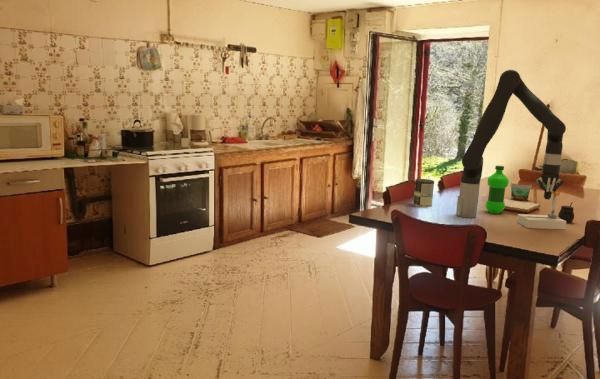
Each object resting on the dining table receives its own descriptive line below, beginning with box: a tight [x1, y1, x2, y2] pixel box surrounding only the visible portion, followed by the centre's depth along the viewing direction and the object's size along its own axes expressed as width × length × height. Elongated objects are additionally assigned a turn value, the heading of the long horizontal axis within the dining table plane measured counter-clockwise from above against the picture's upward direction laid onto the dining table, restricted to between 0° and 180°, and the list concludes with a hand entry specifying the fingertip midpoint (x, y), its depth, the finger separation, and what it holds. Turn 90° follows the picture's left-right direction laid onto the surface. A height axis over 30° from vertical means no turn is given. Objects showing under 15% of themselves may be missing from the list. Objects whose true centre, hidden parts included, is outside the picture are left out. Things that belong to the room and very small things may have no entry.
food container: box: [510, 182, 533, 202], centre depth 315 cm, size 12×6×10 cm, turn 76°
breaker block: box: [516, 213, 567, 230], centre depth 250 cm, size 18×12×4 cm, turn 91°
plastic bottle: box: [485, 165, 510, 214], centre depth 275 cm, size 10×10×25 cm
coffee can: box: [412, 178, 435, 208], centre depth 286 cm, size 10×10×14 cm
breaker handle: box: [547, 190, 561, 218], centre depth 249 cm, size 3×4×13 cm
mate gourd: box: [557, 202, 575, 224], centre depth 261 cm, size 7×8×10 cm
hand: (547, 199), depth 248 cm, fingers closed
